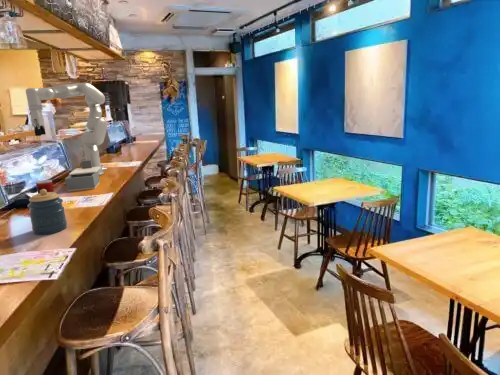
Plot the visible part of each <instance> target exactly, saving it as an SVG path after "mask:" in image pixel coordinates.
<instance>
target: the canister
mask: <svg viewBox="0 0 500 375" xmlns="http://www.w3.org/2000/svg"><path fill="white" fill-rule="evenodd" d="M60 196H61V195H60V194H59V193H56V192H55V191H54V192H47V190H45V189H42V190H40V194H38V193H36V194H34V195H32V196H31V197H30V198H29V199H28V201H29V203H28V204H27V208H28V209H29V212H28V214H29V218H30V222H31V229H32V232H33V234H35V235H41V236H43V235H50V234H54V233H57V232H61V231H63V230H65V229H66V228H67V227H68V223H67V222H68V221H67V219H66V213H65V207H64V206H63V201H64V200H63V199H62V198H60Z"/></svg>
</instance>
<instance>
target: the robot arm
mask: <svg viewBox="0 0 500 375" xmlns="http://www.w3.org/2000/svg"><path fill="white" fill-rule="evenodd" d="M25 94H26V99H27V105H28V111H29V112H30V120H31V121H30V123H31V126H32V127H33V129H34V134H35V137H40V136H42V135H45V136H46V129H45V121H44V116H43V105H42V101H46V100H47V101H49V100H52V99H67V98H72V97H73V98H74V97H81V96H85V97H84V101H85V103H86V104H87V106H88V110H89V113H88V118H87V121H86V128H87V129H88V130H89V131H85V132H84V133H82V135H81V139H80V140H81V144H82V147H83V150H84V157H85V161H88V160H91V161H92V167H99V166H100V167H101V168H100V169H99V170H98V173H99V176H101V175H104V174H105V172H104V171H107V170H108V168H107V167H106V166H105V167H102V166H101V159H100V152H99V148H98V146H101V145H102V144H103V143H104V142H105V138H106V134H107V129H108V123H107V121H106V119H104V118H103V117H102V115H103V111H102V107H101V105H103V104H104V103H105V102H106V97H105V95H104V93H103V92H102V91H100V90H99V89H97V87H95V86H94V85H92V84H91V83H89V82H77V83H70V84H68V83H67V84H60V85H56V86H49V87H38V88H37V87H32V88H30V87H29V88H26V89H25Z"/></svg>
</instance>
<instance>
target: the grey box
mask: <svg viewBox="0 0 500 375" xmlns="http://www.w3.org/2000/svg"><path fill="white" fill-rule="evenodd" d="M64 180H65V181H64V182H65V186H66V191H67V192H76V191H87V190H95V189H96V188H97V187H98V186H99V184H100V183H101V182H100V175H99V173H98V171H97V172H96V173H87V174H76V175H69V174H68V175H67V177H65V178H64Z"/></svg>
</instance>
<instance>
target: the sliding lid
mask: <svg viewBox="0 0 500 375" xmlns="http://www.w3.org/2000/svg"><path fill="white" fill-rule="evenodd" d="M80 163H81V167H79V168H78V167H77V168H75V169H73V170H72V171H71V172H69V173H68V176H69V175H76V174H87V173H96V172H97V171H98V170H99V169H100V168H101V167H102V166H101V167H100V166H99V167H92V161H91V160H88V161H86V160H81V162H80Z"/></svg>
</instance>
